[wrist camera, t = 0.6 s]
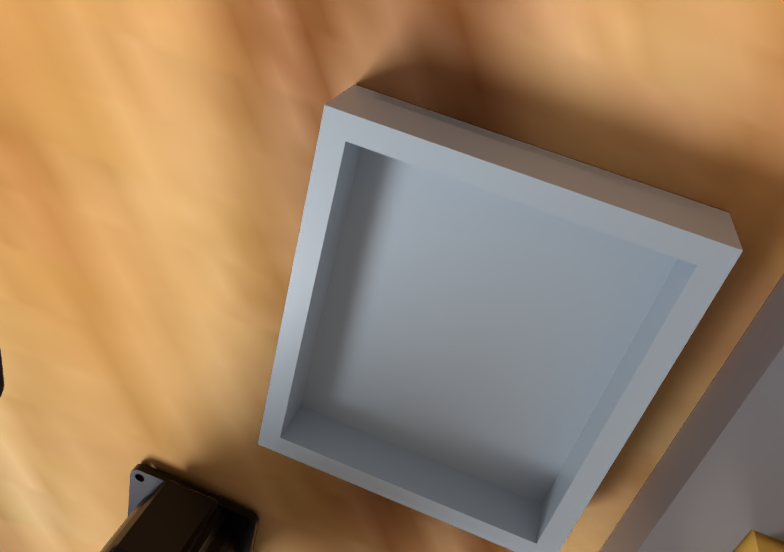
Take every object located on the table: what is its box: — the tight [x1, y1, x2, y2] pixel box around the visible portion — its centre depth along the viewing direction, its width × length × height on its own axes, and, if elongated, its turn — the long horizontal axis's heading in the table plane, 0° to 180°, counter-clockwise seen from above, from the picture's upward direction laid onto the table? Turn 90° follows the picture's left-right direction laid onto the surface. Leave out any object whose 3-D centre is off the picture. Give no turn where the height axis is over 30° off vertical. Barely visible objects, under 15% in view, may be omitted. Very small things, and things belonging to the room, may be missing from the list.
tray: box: [258, 84, 743, 552], centre depth 23 cm, size 14×12×2 cm
